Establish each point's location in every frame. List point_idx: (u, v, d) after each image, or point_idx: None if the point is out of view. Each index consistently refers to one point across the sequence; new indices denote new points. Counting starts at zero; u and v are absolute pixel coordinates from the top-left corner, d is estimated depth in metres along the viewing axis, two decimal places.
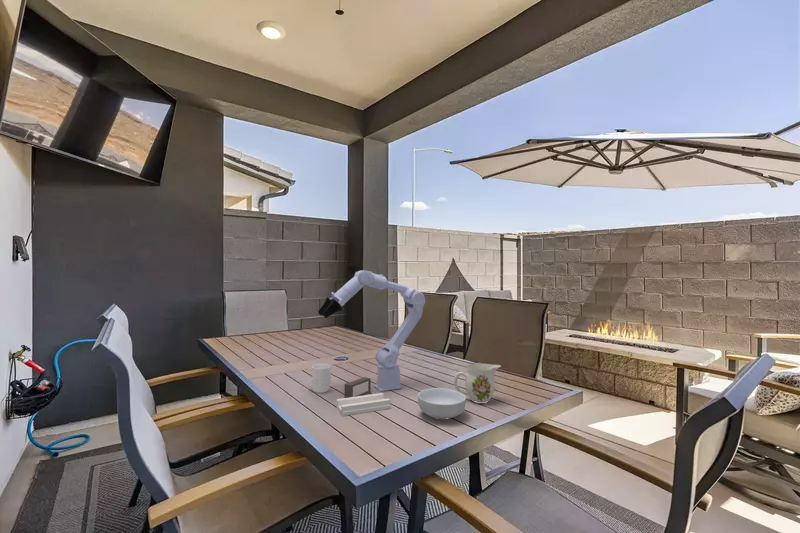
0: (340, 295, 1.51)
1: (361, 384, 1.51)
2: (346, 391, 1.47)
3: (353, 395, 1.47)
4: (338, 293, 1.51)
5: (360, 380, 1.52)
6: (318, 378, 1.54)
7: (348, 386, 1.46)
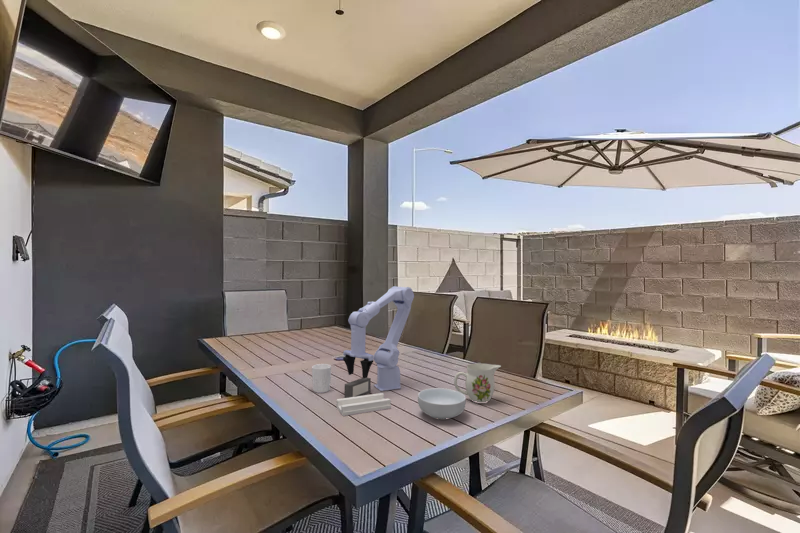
0: (360, 351, 1.49)
1: (361, 384, 1.51)
2: (346, 391, 1.47)
3: (353, 395, 1.47)
4: (357, 351, 1.49)
5: (360, 380, 1.52)
6: (318, 378, 1.54)
7: (348, 386, 1.46)
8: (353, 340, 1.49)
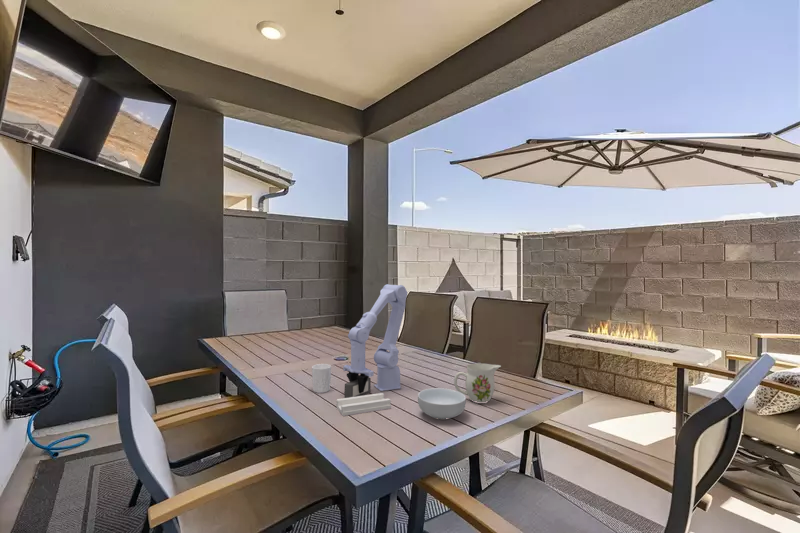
0: (360, 367, 1.49)
1: None
2: (346, 391, 1.47)
3: (353, 395, 1.47)
4: (357, 367, 1.49)
5: None
6: (318, 378, 1.54)
7: (348, 386, 1.46)
8: (353, 356, 1.49)
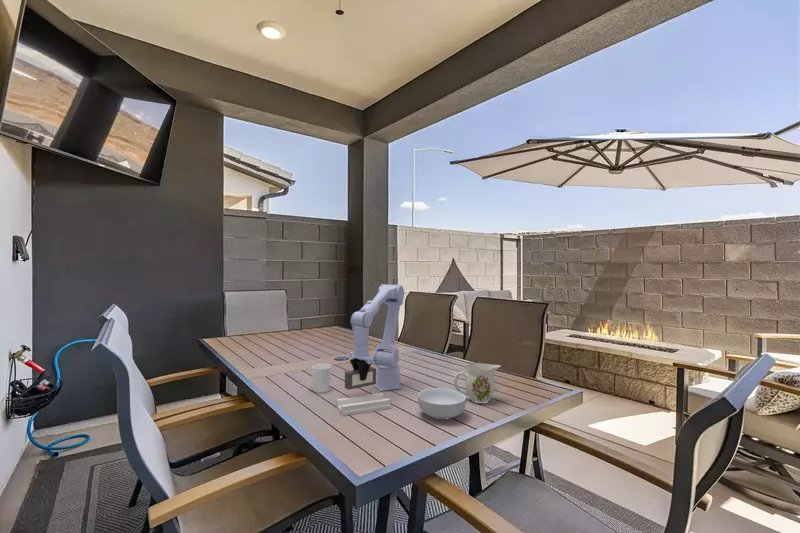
0: (361, 353, 1.42)
1: None
2: (346, 379, 1.41)
3: (353, 384, 1.41)
4: (357, 353, 1.42)
5: None
6: (318, 378, 1.54)
7: (347, 374, 1.40)
8: (358, 342, 1.42)
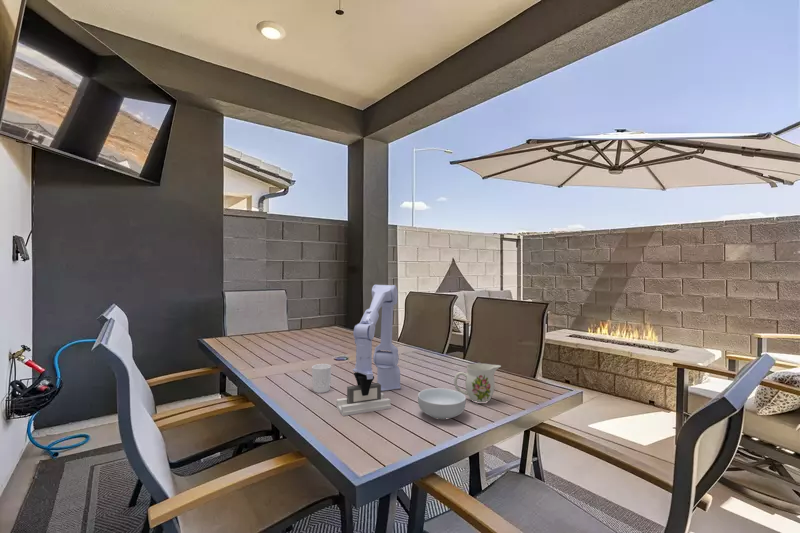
0: (362, 367, 1.36)
1: None
2: (348, 395, 1.37)
3: (354, 400, 1.36)
4: (359, 367, 1.36)
5: None
6: (318, 378, 1.54)
7: (348, 389, 1.36)
8: (362, 355, 1.36)
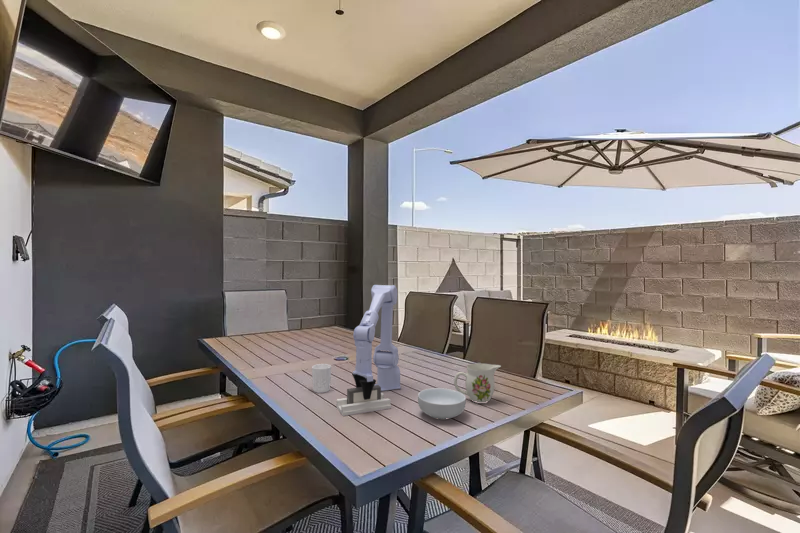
0: (362, 370, 1.36)
1: None
2: (348, 397, 1.37)
3: (354, 402, 1.36)
4: (359, 369, 1.36)
5: None
6: (318, 378, 1.54)
7: (348, 391, 1.36)
8: (362, 357, 1.36)
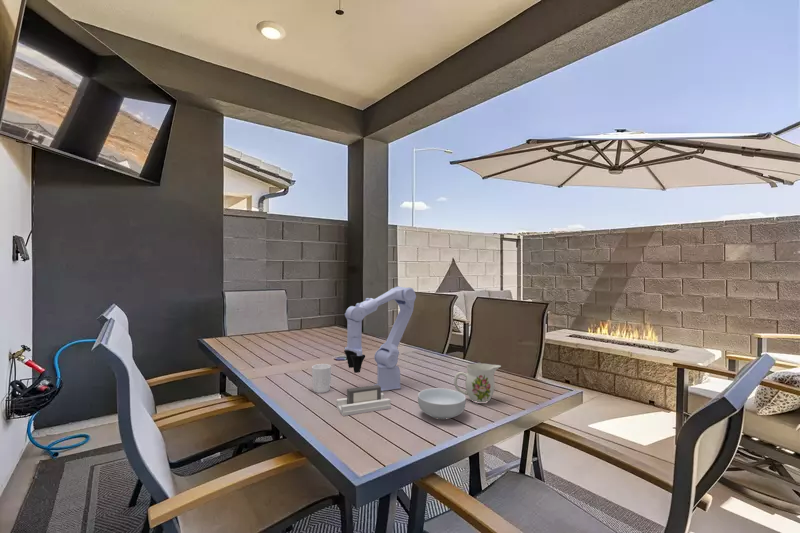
0: (353, 346, 1.50)
1: (367, 392, 1.38)
2: (348, 397, 1.37)
3: (354, 402, 1.36)
4: (350, 345, 1.50)
5: (367, 387, 1.39)
6: (318, 378, 1.54)
7: (348, 391, 1.36)
8: (348, 334, 1.51)
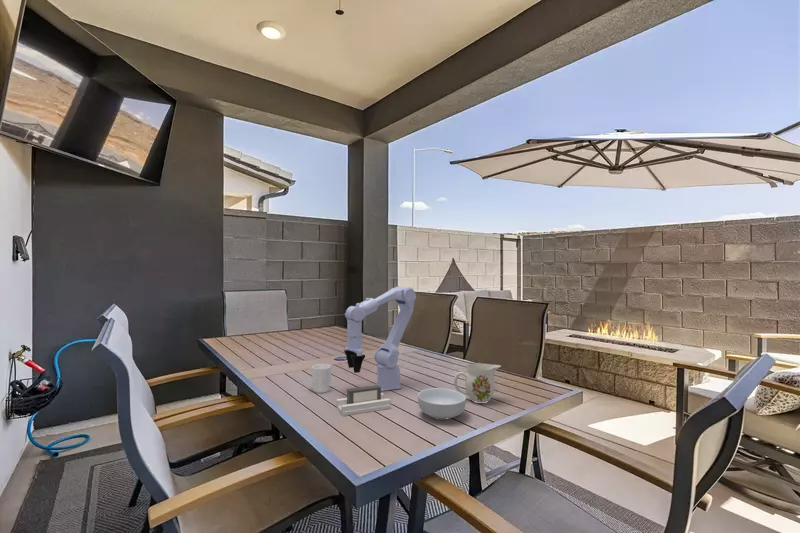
0: (353, 346, 1.50)
1: (367, 392, 1.38)
2: (348, 397, 1.37)
3: (354, 402, 1.36)
4: (350, 345, 1.50)
5: (367, 387, 1.39)
6: (318, 378, 1.54)
7: (348, 391, 1.36)
8: (348, 334, 1.51)
